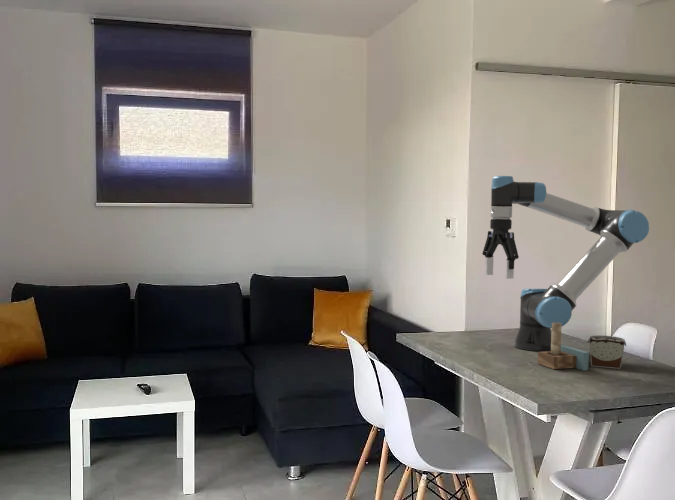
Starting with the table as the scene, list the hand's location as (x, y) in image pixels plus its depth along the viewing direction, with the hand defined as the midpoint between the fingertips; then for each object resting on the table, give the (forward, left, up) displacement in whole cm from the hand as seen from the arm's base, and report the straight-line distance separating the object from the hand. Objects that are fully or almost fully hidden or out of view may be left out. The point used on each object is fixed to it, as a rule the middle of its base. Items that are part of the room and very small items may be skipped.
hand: (499, 276), depth 250 cm
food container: (-28, +25, -29) cm, 47 cm away
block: (-10, +22, -29) cm, 37 cm away
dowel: (-9, +22, -28) cm, 37 cm away
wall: (-16, +22, -29) cm, 39 cm away
